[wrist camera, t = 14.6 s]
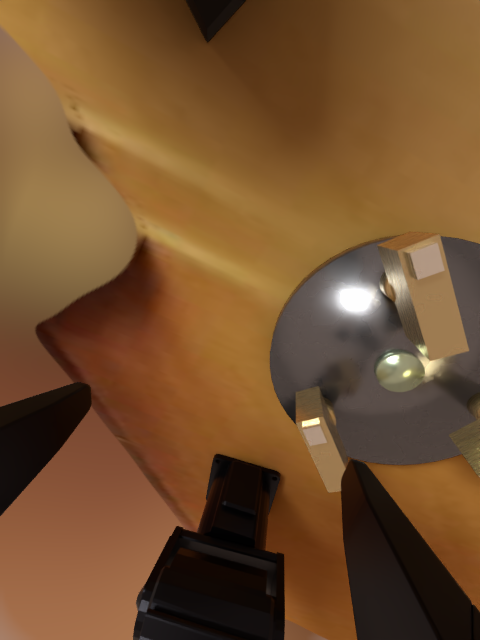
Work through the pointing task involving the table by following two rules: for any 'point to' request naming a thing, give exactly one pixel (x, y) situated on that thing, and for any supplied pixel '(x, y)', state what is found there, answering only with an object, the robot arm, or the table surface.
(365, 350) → the plate
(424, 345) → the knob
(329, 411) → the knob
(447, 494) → the table surface
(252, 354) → the table surface
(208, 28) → the speaker
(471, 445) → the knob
